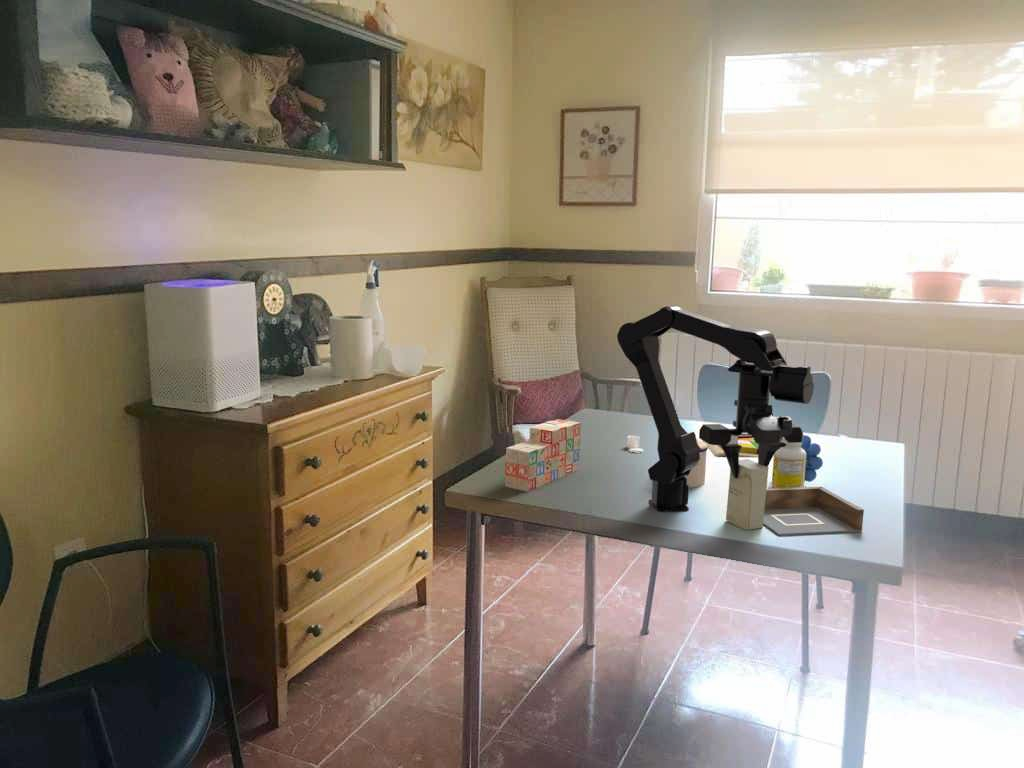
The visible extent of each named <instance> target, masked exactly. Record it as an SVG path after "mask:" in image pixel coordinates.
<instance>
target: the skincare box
mask: <svg viewBox="0 0 1024 768" xmlns="http://www.w3.org/2000/svg"><path fill="white" fill-rule="evenodd" d="M729 470H730V471H729V480H728V492H727V493H728V494H727V503H726V513H725V520H726V521H727V522H729V523H731V524H732V525H734V526H736V527H738V528H740V529H742V530H744V531H748V530H749V531H751V530H756V529H762V528H763V526H764V525H763V518H764V508H765V498H766V489H768V487H767V486H768V478H769V466H768V467H766V466H764V465H761V464H759V463H758V462H756V461H753V460H750V459H748V458H747V459H739V471H738V477H737V478H734V477H733V474H732V472H731V469H729Z"/></svg>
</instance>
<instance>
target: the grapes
mask: <svg viewBox="0 0 1024 768" xmlns="http://www.w3.org/2000/svg"><path fill="white" fill-rule="evenodd" d="M801 448H802V449H804V450H805V452H806V465H805V479H804V483H805V482H809V483H811V482H813V481H814V480H816V479H817V470H819V469H821V468H822V467H823V465H824V463H823V462H824V461H823V459H822V457H820V456H819V455H820V453H821V451H822V449H821V446H820V444H818V443H815V442H812V438H811V437H810V436H809V435H807V434H803V442H802V445H801Z"/></svg>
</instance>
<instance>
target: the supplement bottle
mask: <svg viewBox="0 0 1024 768" xmlns="http://www.w3.org/2000/svg"><path fill="white" fill-rule="evenodd" d="M783 443H785V444H786V446H785V447H781V448H780V449H779V450H777V451H776V452H775V454H774V455H773V461H772V462H773V463H772V474H771V475H772V476H771V488H797V487H805V482H804V479H805V465H806V452H805V450H804V449H802V448H801V445H802V442H800V443H788V442H787V441H786V440H785V439H784V437H783Z"/></svg>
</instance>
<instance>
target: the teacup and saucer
mask: <svg viewBox="0 0 1024 768" xmlns="http://www.w3.org/2000/svg"><path fill="white" fill-rule="evenodd" d="M640 438H641V437H640V436H639V435H634V434H632V435H627V448H628V452H629V451H630V453H632V452H635V453H634V454H641V453H640V452H642V453H644V449H643V448H639V447H640ZM630 448H631V449H630Z"/></svg>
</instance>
